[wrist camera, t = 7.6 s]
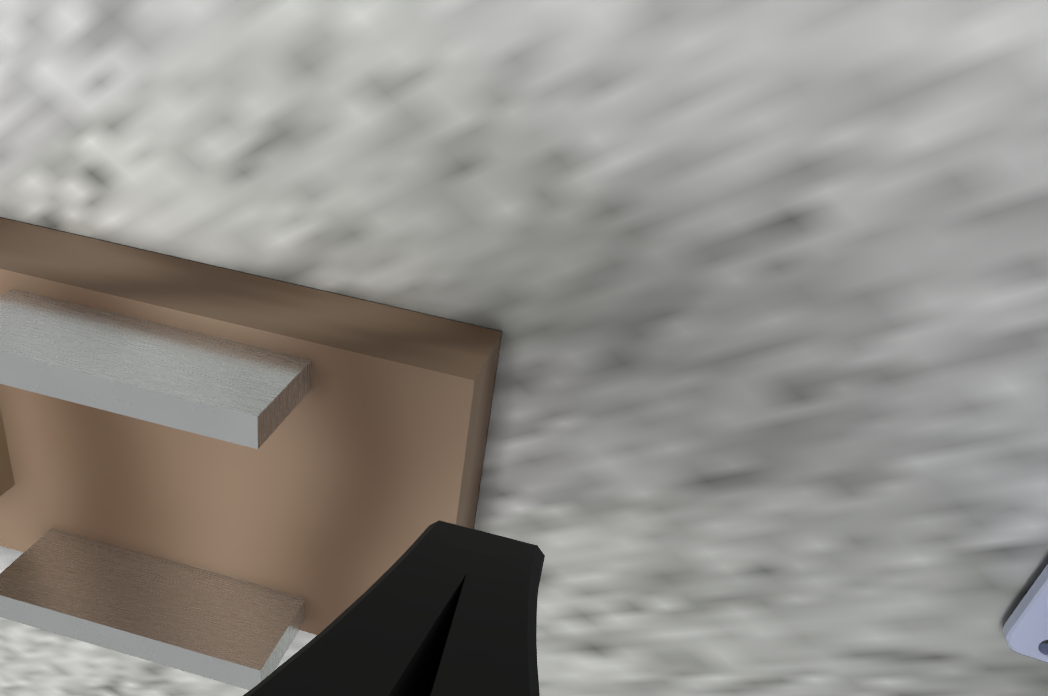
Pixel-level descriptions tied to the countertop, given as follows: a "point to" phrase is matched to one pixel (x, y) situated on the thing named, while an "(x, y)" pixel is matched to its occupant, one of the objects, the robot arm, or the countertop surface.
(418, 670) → the robot arm
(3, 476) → the maple block
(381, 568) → the board
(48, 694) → the countertop surface
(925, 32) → the countertop surface
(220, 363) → the channel walls
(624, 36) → the countertop surface
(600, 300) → the countertop surface
